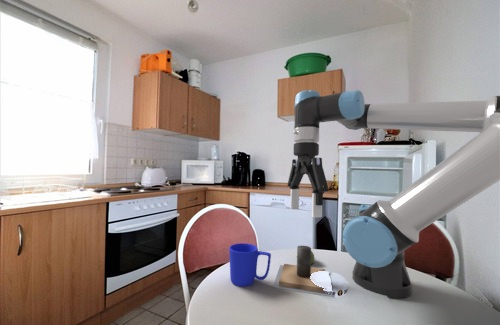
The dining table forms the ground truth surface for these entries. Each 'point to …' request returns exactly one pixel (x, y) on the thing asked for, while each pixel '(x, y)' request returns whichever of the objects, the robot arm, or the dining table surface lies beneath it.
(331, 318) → the dining table surface
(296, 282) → the lid
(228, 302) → the dining table surface
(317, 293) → the mat
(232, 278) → the mug
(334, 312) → the dining table surface
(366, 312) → the dining table surface
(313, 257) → the pear
